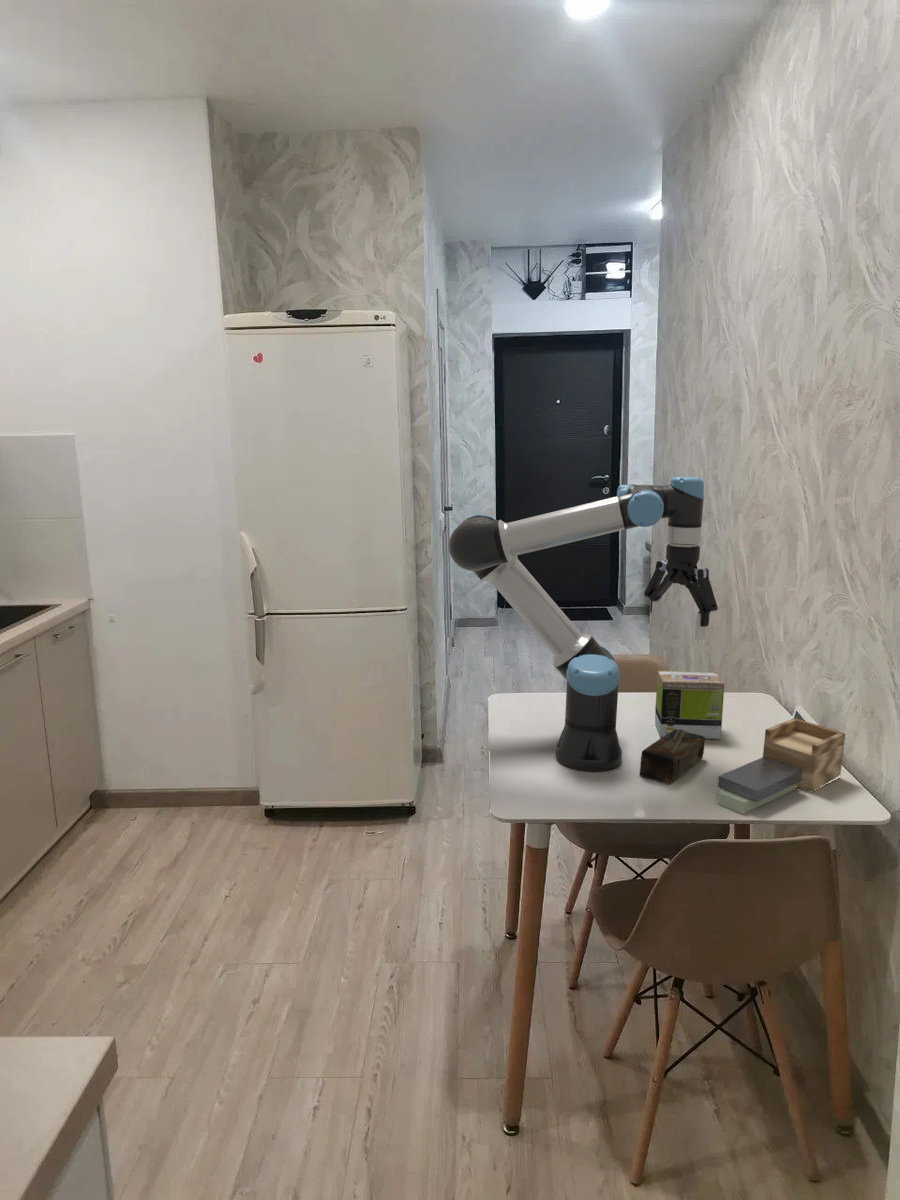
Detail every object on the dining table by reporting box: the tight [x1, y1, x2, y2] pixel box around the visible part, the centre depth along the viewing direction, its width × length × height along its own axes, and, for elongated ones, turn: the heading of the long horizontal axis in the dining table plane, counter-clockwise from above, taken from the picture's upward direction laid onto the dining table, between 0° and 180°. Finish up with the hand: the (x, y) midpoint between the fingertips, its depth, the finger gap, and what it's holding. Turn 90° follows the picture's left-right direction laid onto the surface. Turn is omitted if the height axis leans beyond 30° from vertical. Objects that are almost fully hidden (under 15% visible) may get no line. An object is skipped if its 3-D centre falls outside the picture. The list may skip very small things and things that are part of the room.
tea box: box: [654, 670, 725, 740], centre depth 216 cm, size 15×10×15 cm, turn 84°
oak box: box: [762, 717, 846, 792], centre depth 191 cm, size 12×12×10 cm
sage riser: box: [717, 783, 797, 815], centre depth 181 cm, size 20×6×2 cm, turn 129°
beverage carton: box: [639, 729, 706, 786], centre depth 195 cm, size 8×19×7 cm, turn 143°
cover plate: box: [717, 756, 802, 802], centre depth 181 cm, size 17×9×2 cm, turn 129°
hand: (677, 633), depth 203 cm, fingers open, 13 cm apart
